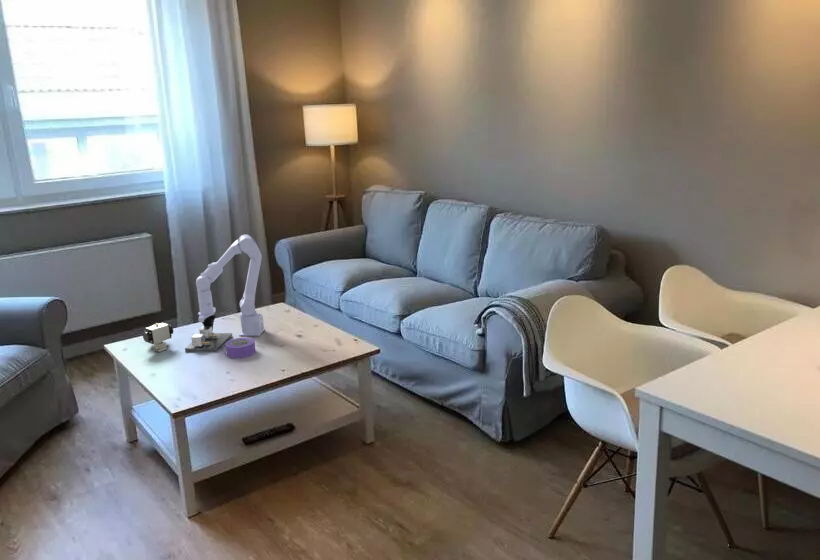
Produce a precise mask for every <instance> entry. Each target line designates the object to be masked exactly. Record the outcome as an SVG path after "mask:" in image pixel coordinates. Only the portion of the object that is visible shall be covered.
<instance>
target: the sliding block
mask: <svg viewBox="0 0 820 560" xmlns="http://www.w3.org/2000/svg"><path fill="white" fill-rule="evenodd" d="M198 330H199V331H198V332H199V334H204V337H205V338H210V337H215V338H216V337H217V335H213V333H214V332H213V331H212V326H204V325H203V326H201V328H200V329H198Z"/></svg>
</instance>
